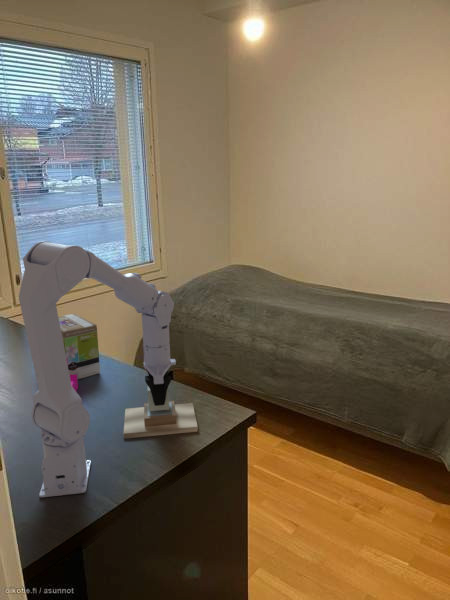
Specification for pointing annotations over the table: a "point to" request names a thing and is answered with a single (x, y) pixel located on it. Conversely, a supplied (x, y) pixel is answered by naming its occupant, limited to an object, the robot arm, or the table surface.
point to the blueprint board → (143, 431)
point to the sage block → (160, 407)
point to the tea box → (80, 345)
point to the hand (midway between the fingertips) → (159, 399)
